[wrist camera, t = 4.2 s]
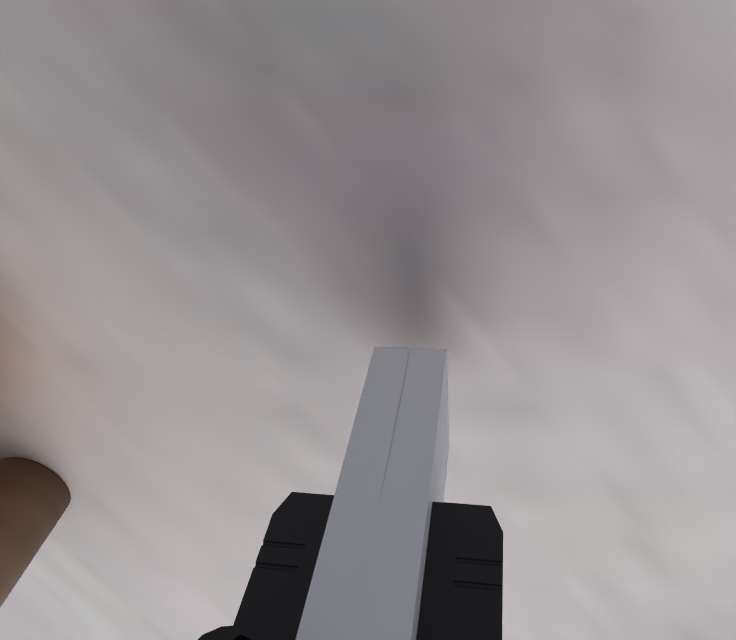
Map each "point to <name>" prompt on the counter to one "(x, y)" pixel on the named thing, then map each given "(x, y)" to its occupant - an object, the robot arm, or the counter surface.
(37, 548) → the post
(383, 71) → the counter surface
